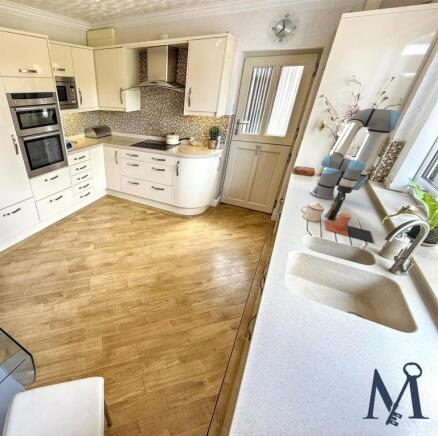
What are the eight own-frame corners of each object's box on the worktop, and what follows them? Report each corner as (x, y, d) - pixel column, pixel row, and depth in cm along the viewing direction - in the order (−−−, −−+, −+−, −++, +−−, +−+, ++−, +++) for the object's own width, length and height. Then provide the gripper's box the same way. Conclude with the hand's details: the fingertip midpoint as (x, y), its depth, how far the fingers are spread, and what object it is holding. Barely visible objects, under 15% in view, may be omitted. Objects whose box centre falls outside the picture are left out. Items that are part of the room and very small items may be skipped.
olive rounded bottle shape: (337, 220, 153) (345, 205, 148) (327, 219, 154) (334, 204, 149) (332, 215, 158) (340, 201, 153) (323, 214, 159) (330, 200, 154)
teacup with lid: (318, 217, 156) (326, 202, 150) (319, 223, 149) (327, 207, 143) (298, 212, 161) (304, 197, 155) (297, 218, 154) (304, 202, 148)
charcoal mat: (347, 226, 147) (347, 225, 147) (369, 232, 142) (369, 231, 142) (349, 236, 137) (349, 235, 137) (373, 243, 132) (373, 242, 132)
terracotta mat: (325, 220, 152) (326, 219, 152) (346, 226, 147) (346, 225, 147) (326, 230, 142) (326, 229, 142) (348, 236, 137) (348, 235, 137)
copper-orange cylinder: (332, 224, 148) (339, 211, 143) (344, 227, 145) (351, 214, 140) (333, 228, 143) (339, 215, 139) (345, 231, 140) (352, 218, 136)
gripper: (355, 192, 136) (337, 225, 147) (352, 182, 150) (336, 213, 162) (340, 188, 139) (323, 221, 151) (338, 179, 154) (323, 210, 165)
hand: (330, 217), depth 156 cm, fingers open, 7 cm apart
